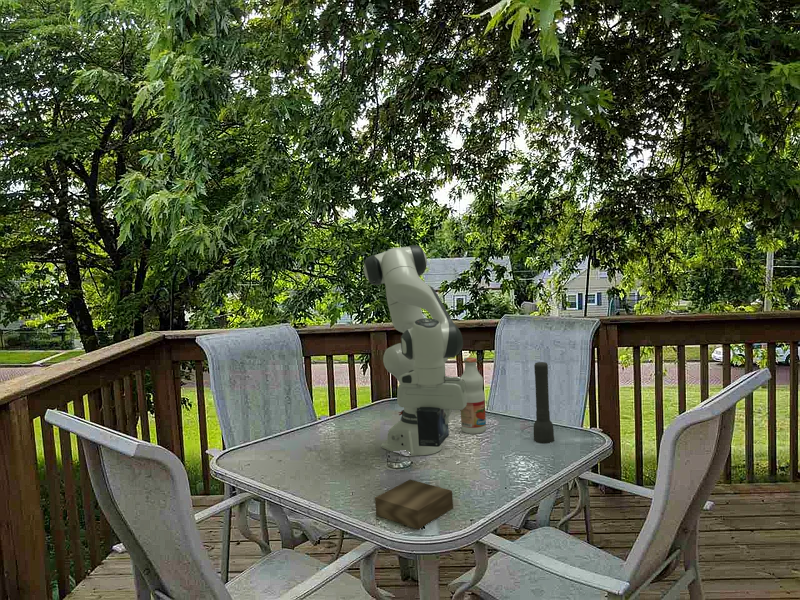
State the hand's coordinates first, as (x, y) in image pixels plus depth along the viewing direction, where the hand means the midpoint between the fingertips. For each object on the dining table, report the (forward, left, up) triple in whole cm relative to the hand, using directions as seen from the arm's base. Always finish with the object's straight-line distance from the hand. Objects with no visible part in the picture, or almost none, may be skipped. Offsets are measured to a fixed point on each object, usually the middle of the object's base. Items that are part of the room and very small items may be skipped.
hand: (432, 423), depth 177 cm
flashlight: (+4, +59, -22) cm, 63 cm away
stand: (+2, -12, -21) cm, 25 cm away
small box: (0, 0, -6) cm, 6 cm away
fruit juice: (-24, +56, -22) cm, 65 cm away
